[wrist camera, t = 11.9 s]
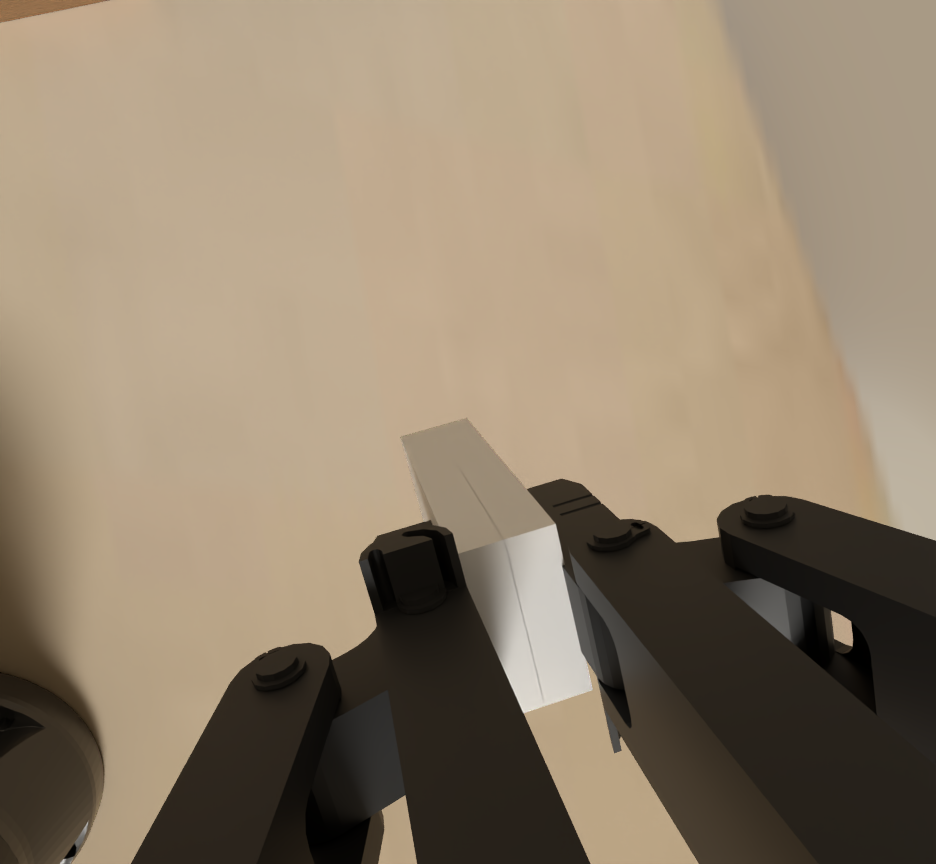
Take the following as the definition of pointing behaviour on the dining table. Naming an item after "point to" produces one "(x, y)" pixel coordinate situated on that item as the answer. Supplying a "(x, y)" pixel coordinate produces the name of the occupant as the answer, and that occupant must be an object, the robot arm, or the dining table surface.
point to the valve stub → (36, 7)
